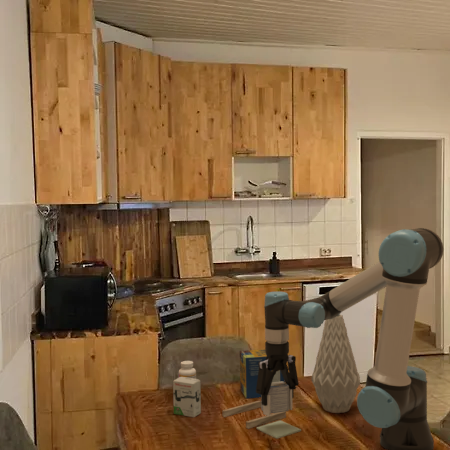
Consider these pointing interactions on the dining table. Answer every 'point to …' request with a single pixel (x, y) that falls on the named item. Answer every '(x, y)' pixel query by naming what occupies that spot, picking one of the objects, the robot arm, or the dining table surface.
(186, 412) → the ink box
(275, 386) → the medicine box
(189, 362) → the supplement bottle
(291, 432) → the sage mat
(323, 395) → the vase
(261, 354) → the protein box
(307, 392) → the dining table surface
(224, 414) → the slot rack
